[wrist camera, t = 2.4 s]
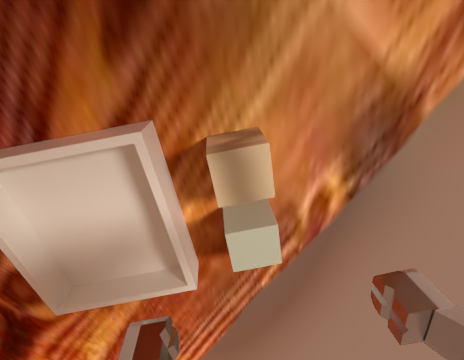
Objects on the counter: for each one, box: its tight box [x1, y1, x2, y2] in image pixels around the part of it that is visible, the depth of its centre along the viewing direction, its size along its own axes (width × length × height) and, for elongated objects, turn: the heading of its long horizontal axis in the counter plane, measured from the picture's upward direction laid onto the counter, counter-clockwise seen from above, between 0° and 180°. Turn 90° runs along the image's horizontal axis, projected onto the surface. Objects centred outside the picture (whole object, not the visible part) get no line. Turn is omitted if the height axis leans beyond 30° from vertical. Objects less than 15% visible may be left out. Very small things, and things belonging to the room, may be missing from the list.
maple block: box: [206, 127, 275, 208], centre depth 22 cm, size 5×5×5 cm
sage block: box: [223, 199, 282, 272], centre depth 25 cm, size 5×5×5 cm
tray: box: [0, 120, 199, 316], centre depth 24 cm, size 16×18×4 cm
